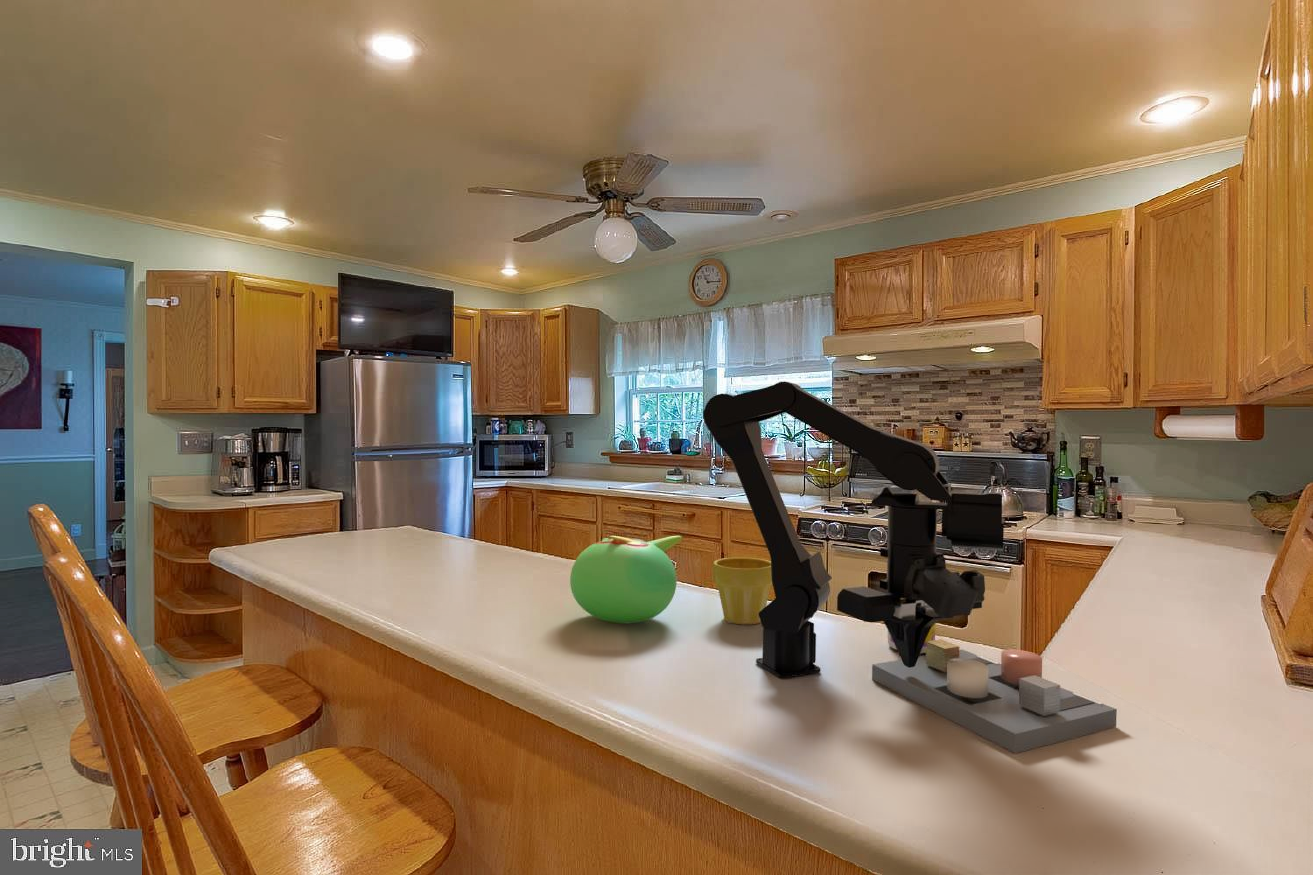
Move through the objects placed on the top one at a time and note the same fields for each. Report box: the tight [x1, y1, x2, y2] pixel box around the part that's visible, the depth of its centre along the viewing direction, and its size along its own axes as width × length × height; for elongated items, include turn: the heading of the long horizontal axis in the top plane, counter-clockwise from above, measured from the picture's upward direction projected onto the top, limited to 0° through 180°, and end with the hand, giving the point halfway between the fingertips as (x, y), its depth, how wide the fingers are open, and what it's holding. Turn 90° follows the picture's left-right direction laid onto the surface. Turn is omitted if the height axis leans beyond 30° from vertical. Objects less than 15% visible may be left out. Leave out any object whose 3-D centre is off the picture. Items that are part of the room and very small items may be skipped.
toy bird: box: [569, 535, 683, 624], centre depth 112 cm, size 18×17×15 cm
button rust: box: [1000, 648, 1043, 685], centre depth 81 cm, size 4×4×3 cm
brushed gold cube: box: [925, 638, 960, 672], centre depth 85 cm, size 2×3×3 cm
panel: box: [871, 649, 1118, 754], centre depth 80 cm, size 16×21×2 cm
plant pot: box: [712, 557, 773, 626], centre depth 113 cm, size 10×10×10 cm
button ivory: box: [947, 658, 989, 698], centre depth 78 cm, size 4×4×3 cm
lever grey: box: [1018, 675, 1061, 716], centre depth 73 cm, size 2×3×3 cm
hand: (909, 666), depth 83 cm, fingers closed
